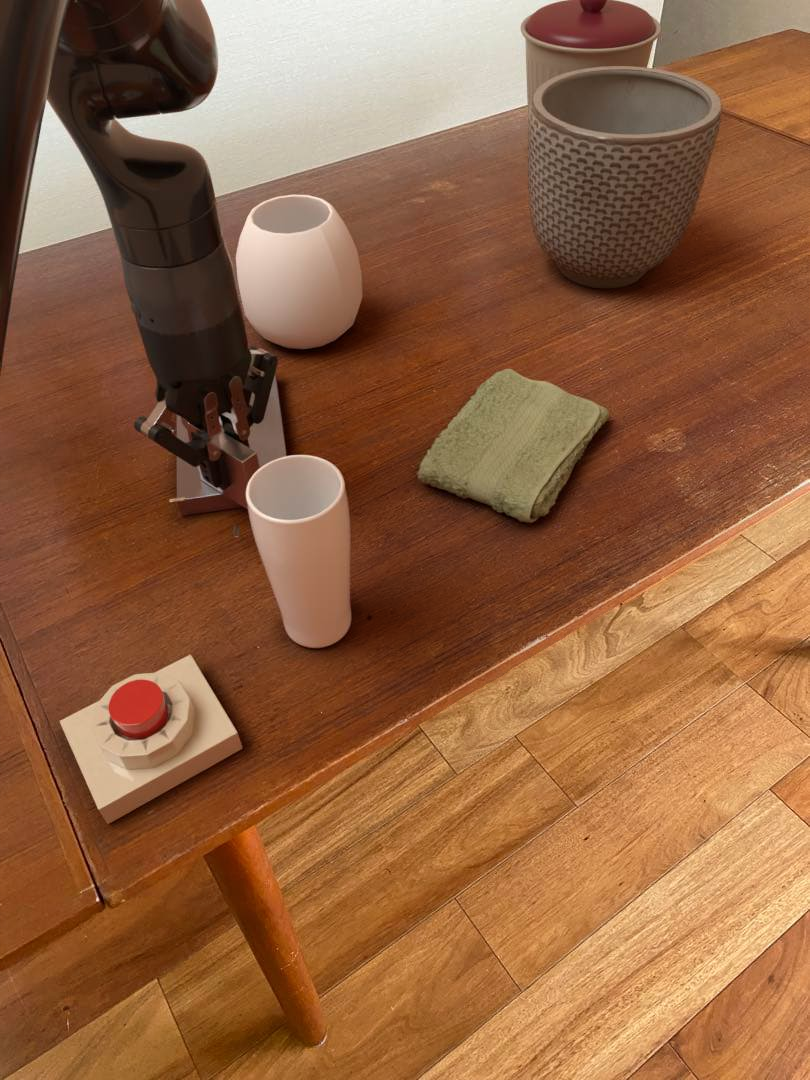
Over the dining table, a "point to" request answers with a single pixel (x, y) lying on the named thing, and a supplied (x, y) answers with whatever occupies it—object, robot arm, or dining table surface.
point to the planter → (617, 168)
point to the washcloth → (513, 445)
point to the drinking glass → (304, 544)
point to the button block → (151, 742)
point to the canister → (585, 38)
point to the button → (138, 709)
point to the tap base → (262, 440)
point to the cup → (298, 272)
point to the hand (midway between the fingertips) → (230, 476)
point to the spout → (236, 468)
